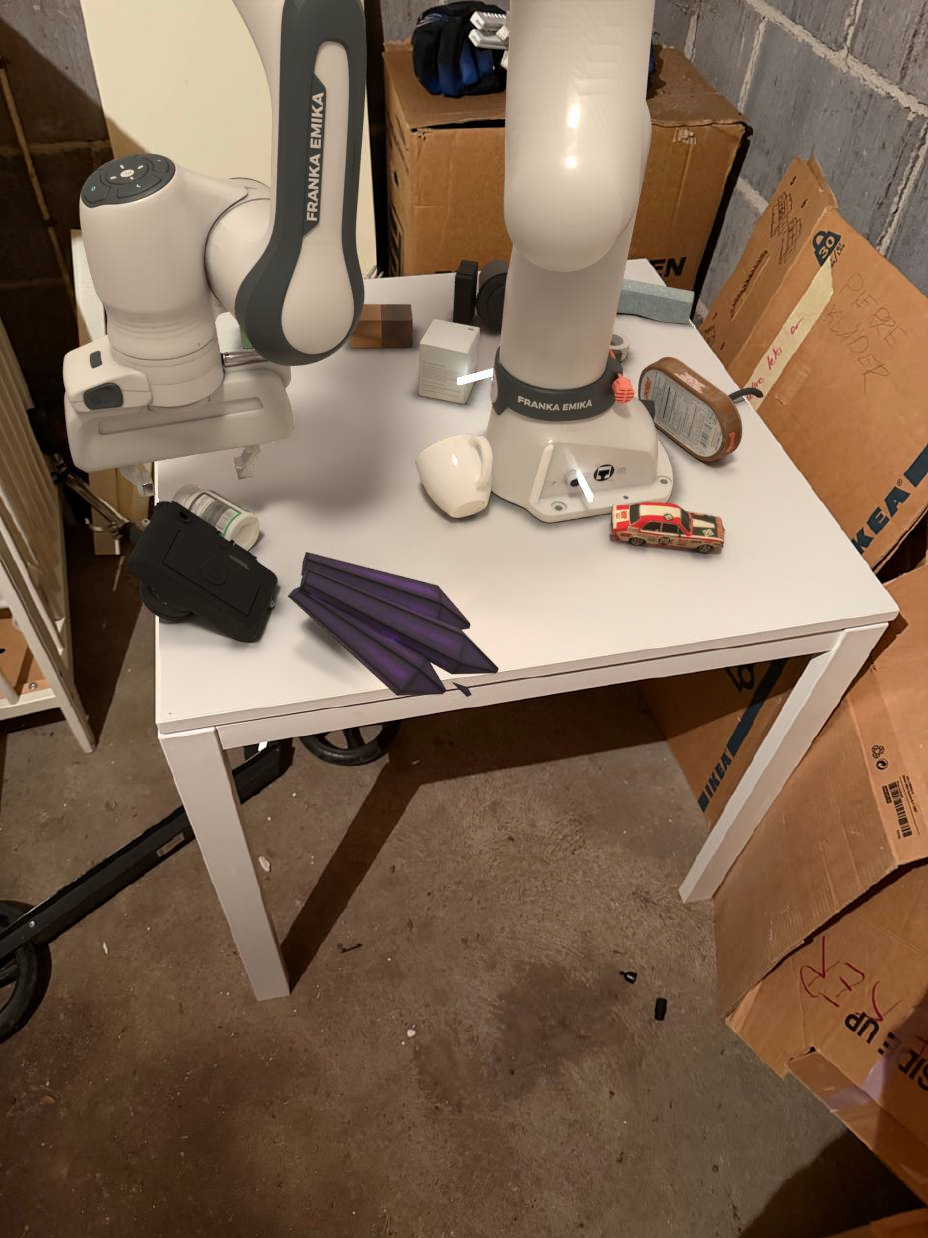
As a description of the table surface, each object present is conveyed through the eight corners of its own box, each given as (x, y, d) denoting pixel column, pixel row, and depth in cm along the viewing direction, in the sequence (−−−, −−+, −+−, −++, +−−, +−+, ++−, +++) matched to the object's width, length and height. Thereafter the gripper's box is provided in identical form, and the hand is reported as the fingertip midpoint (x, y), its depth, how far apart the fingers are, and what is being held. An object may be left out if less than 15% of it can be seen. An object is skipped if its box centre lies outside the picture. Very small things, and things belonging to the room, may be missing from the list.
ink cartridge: (459, 312, 122) (462, 256, 116) (475, 315, 122) (478, 259, 116) (451, 331, 119) (453, 274, 113) (467, 333, 119) (471, 277, 113)
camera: (230, 664, 85) (255, 603, 90) (270, 635, 81) (294, 573, 86) (95, 584, 79) (130, 523, 84) (131, 548, 74) (165, 486, 80)
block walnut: (411, 331, 119) (411, 303, 116) (412, 347, 116) (412, 319, 113) (381, 331, 119) (380, 303, 116) (382, 347, 116) (381, 320, 113)
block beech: (381, 331, 119) (380, 303, 116) (382, 347, 116) (381, 320, 113) (351, 331, 118) (349, 303, 115) (351, 347, 116) (350, 320, 113)
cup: (479, 522, 98) (460, 468, 100) (529, 479, 91) (508, 421, 92) (421, 527, 94) (402, 470, 95) (469, 483, 86) (448, 422, 87)
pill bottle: (258, 549, 91) (201, 515, 94) (264, 509, 89) (204, 474, 92) (224, 563, 88) (166, 526, 91) (229, 521, 85) (168, 485, 88)
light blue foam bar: (539, 257, 126) (537, 270, 129) (529, 300, 125) (528, 312, 128) (696, 286, 125) (691, 299, 128) (688, 330, 124) (683, 341, 127)
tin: (732, 468, 103) (754, 408, 97) (713, 477, 102) (734, 416, 95) (646, 402, 111) (661, 342, 105) (627, 409, 110) (641, 349, 103)
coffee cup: (537, 269, 124) (549, 296, 116) (504, 317, 128) (513, 346, 120) (490, 237, 120) (499, 262, 113) (457, 288, 124) (464, 316, 117)
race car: (611, 523, 98) (612, 491, 95) (723, 529, 95) (728, 496, 92) (607, 554, 95) (608, 522, 91) (723, 561, 92) (728, 528, 89)
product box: (432, 369, 113) (433, 317, 108) (477, 378, 112) (481, 326, 107) (417, 395, 109) (418, 343, 104) (464, 405, 109) (468, 352, 103)
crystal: (311, 544, 84) (496, 637, 87) (258, 645, 78) (457, 740, 81) (327, 508, 78) (525, 609, 81) (270, 614, 72) (485, 719, 75)
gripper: (280, 326, 81) (293, 446, 92) (44, 358, 76) (86, 481, 86) (295, 363, 78) (307, 484, 88) (48, 400, 72) (92, 524, 83)
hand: (196, 483), depth 87 cm, fingers open, 8 cm apart
